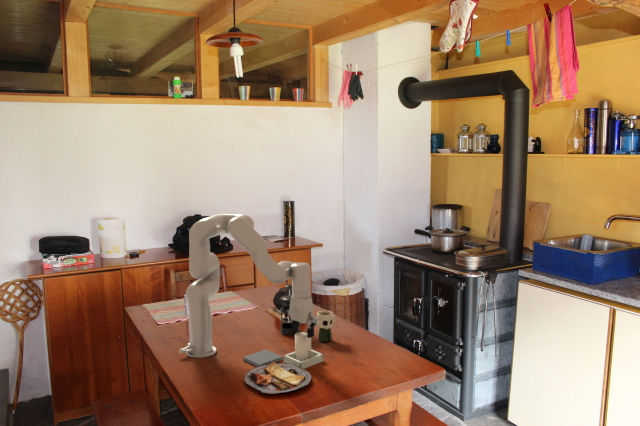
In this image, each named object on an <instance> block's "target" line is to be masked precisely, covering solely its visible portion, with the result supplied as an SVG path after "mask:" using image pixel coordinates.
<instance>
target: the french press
mask: <svg viewBox="0 0 640 426" xmlns="http://www.w3.org/2000/svg"><path fill="white" fill-rule="evenodd" d="M284 287H285V288H288V293H289V294H288V295H287V294H285V295H282V296H280V298H279V300H280V301H281V302H283V303H284V305H282V306H280V308H279V309H280V331H279V332H280V334H281V335H283V336H288V337H289V336H291V337H292V336H295V334H296V333H299V332H301V329H300V326H303V325H304V323H301V322H298V331H295V332H292V331H291V323H292V322H290V318H289V315H288V312H287V310H289V309H290V300H291V296H292V294H291V290H292V284H286V285H284ZM283 314H284V316H283Z"/></svg>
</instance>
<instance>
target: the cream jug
mask: <svg viewBox="0 0 640 426" xmlns="http://www.w3.org/2000/svg"><path fill="white" fill-rule="evenodd" d="M311 350H312V337H310V338H308V337H307V332H304V331H300V332H299V333H296V334H295V335H294V352H295V359H296V360H299V361H304V360H306V359H309V356H308V352H309V351H311Z"/></svg>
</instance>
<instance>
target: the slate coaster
mask: <svg viewBox="0 0 640 426" xmlns="http://www.w3.org/2000/svg"><path fill="white" fill-rule="evenodd" d="M242 359H243V361H244V362H246V363H248V364H249V365H251V366H254V367H260V366H263V365H269V364H271V363H272V362H275V363H276V364H277V363H278V362H282V361H284V356H283V355H280V354H277V353H276V352H274V351H270V350H268V349H263V350H259V351H258V352H254V353H251V354H248V355H246V356H243V357H242Z"/></svg>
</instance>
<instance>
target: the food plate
mask: <svg viewBox="0 0 640 426" xmlns="http://www.w3.org/2000/svg"><path fill="white" fill-rule="evenodd" d="M243 378H244V383H245V384H247V385H248V386H249V387H251V388H253V389H255V390H258V391H260V392H261V393H263V394H271V395H275V394H280V393H288V392H291V391H295V390H296V391H297V390H299V389H300V388H303V387H305V386H307V385H309V384H310V381H311V380H312V375H311V374H310V372H309V371H308V370H307V369H306V368H305V369H303V368H300V367H297V366H293V365H289V364H286V363H277V362H276V363H275V362H272V363H271V364H269V365H263V366H260V367H256V366H254V367H253V368H252V369H249V371H248V372H246V373H245V375H244V376H243ZM290 387H291V388H290Z"/></svg>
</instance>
